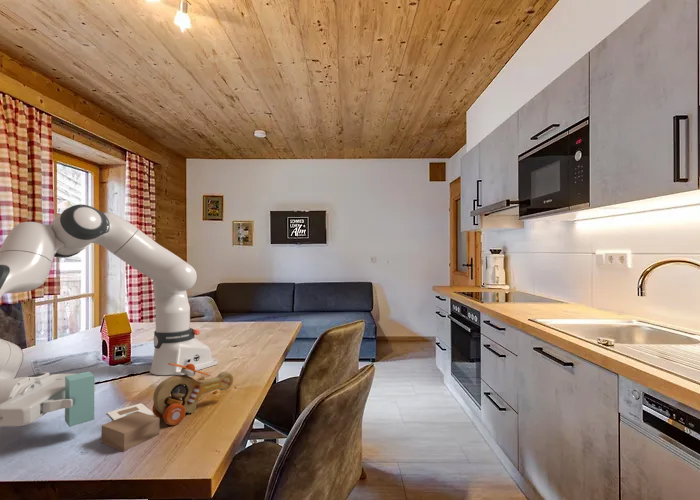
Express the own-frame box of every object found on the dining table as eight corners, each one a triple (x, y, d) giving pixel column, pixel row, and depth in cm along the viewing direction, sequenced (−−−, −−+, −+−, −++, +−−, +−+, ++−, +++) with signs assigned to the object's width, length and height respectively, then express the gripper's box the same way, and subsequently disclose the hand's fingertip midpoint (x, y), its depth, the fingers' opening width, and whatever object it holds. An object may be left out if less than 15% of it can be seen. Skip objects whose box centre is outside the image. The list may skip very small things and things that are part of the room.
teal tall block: (89, 413, 83) (89, 371, 84) (94, 419, 80) (94, 375, 81) (64, 420, 80) (65, 376, 80) (69, 426, 77) (69, 380, 77)
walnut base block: (137, 428, 85) (137, 411, 85) (159, 435, 81) (159, 418, 81) (101, 443, 77) (101, 425, 77) (124, 452, 74) (124, 433, 74)
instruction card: (141, 403, 97) (141, 402, 97) (156, 416, 90) (156, 415, 90) (107, 413, 92) (107, 412, 92) (120, 427, 84) (120, 426, 84)
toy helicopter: (147, 420, 88) (148, 364, 88) (223, 395, 104) (224, 348, 104) (160, 430, 83) (161, 371, 83) (239, 403, 99) (240, 353, 99)
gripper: (-27, 404, 68) (52, 400, 70) (47, 370, 88) (107, 367, 90) (-28, 437, 68) (52, 432, 70) (47, 395, 88) (107, 391, 90)
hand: (84, 395), depth 80 cm, fingers closed on teal tall block, 6 cm apart
